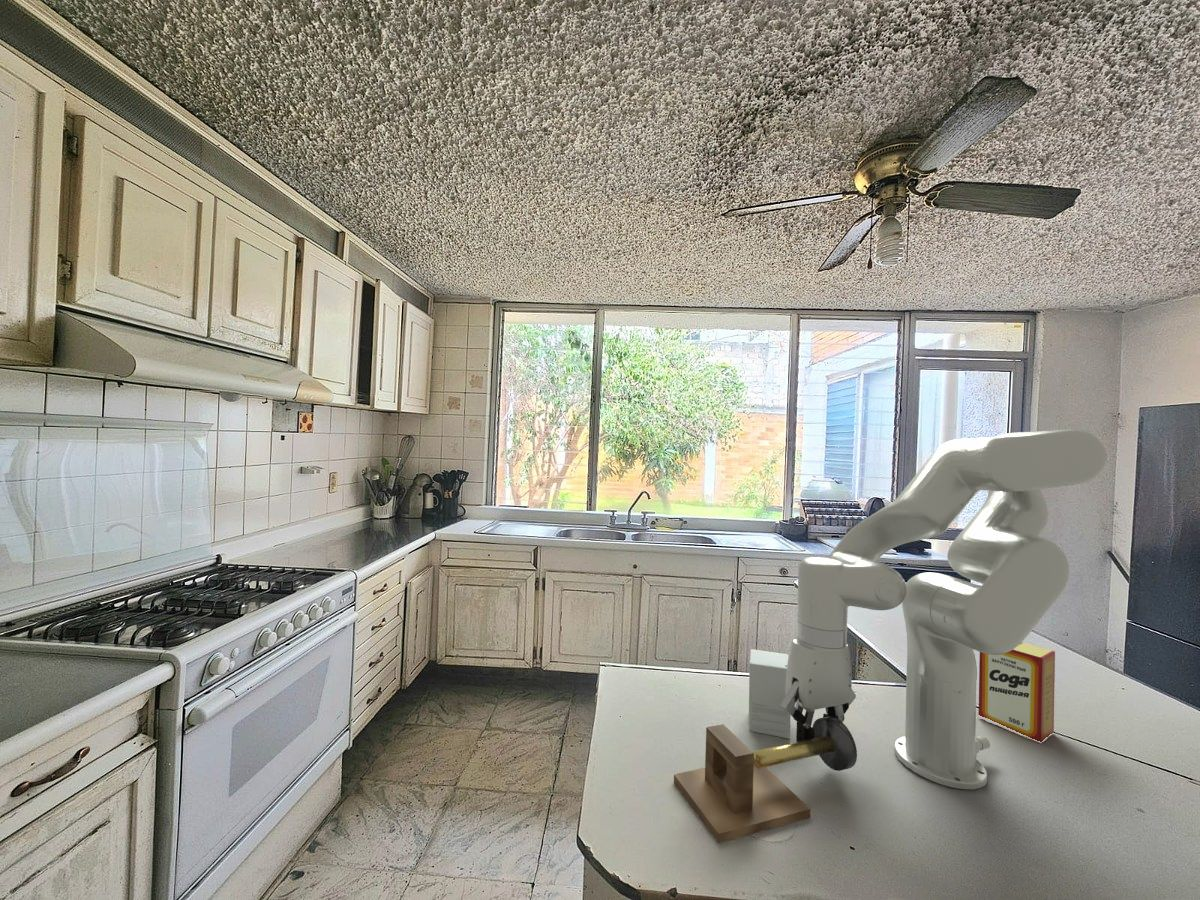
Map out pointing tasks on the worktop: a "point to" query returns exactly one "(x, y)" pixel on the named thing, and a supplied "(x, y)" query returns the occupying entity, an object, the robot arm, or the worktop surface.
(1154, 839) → the worktop surface
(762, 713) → the supplement box
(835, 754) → the brass peg with disc
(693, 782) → the eye post
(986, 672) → the baking soda box
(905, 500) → the robot arm
